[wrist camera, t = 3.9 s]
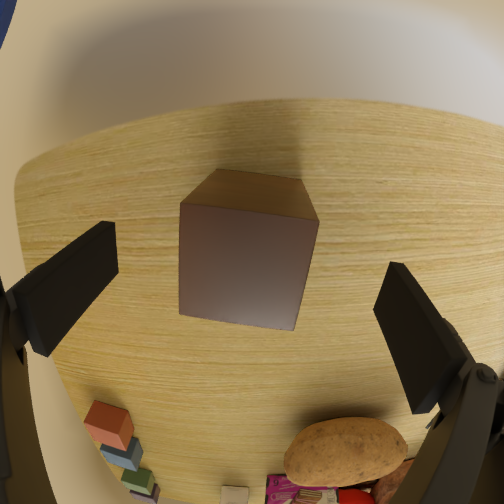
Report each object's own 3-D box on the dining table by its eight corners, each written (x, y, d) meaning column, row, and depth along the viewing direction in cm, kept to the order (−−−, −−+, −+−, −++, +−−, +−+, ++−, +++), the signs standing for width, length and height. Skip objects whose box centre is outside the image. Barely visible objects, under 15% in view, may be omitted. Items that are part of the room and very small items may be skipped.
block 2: (107, 429, 35) (99, 449, 32) (138, 438, 35) (130, 460, 31) (115, 443, 37) (107, 462, 34) (143, 452, 37) (136, 471, 34)
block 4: (134, 477, 45) (129, 492, 41) (157, 483, 45) (153, 499, 41) (138, 484, 47) (134, 498, 43) (160, 490, 47) (156, 504, 43)
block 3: (126, 463, 41) (120, 480, 38) (151, 471, 41) (146, 488, 38) (131, 472, 43) (126, 488, 40) (155, 479, 43) (150, 495, 40)
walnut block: (210, 246, 21) (178, 314, 14) (216, 168, 19) (179, 202, 12) (288, 257, 21) (293, 331, 14) (302, 179, 19) (320, 221, 11)
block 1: (94, 399, 32) (83, 422, 28) (128, 410, 32) (118, 434, 28) (103, 419, 34) (93, 440, 30) (134, 429, 34) (126, 451, 30)
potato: (382, 439, 31) (391, 488, 24) (278, 442, 32) (276, 496, 25) (412, 396, 27) (430, 453, 20) (291, 399, 28) (291, 466, 21)
